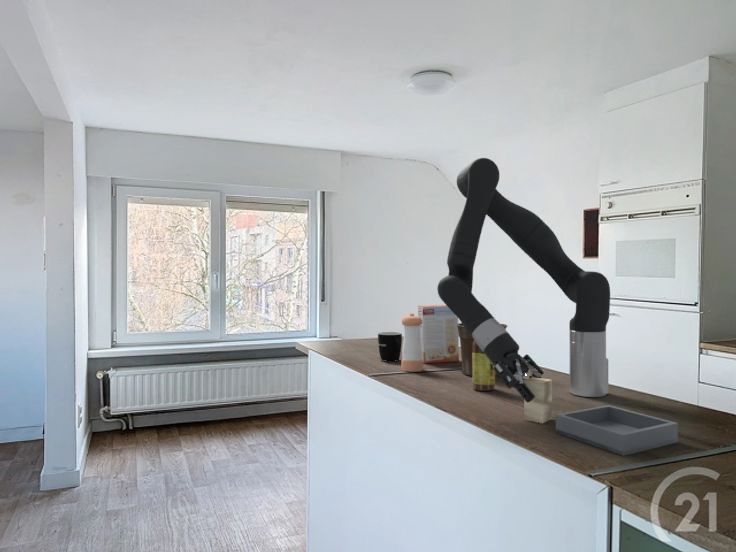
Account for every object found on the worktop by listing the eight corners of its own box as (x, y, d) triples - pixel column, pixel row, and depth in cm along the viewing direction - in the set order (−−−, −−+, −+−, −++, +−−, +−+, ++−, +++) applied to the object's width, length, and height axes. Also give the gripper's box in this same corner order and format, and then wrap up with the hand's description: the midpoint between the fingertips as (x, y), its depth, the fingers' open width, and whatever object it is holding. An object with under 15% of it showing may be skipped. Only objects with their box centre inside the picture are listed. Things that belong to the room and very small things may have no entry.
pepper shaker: (422, 372, 179) (421, 314, 179) (400, 371, 181) (400, 314, 180) (423, 368, 187) (423, 312, 186) (402, 367, 188) (402, 312, 187)
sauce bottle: (495, 392, 150) (495, 320, 149) (472, 391, 151) (472, 320, 150) (494, 387, 156) (494, 318, 156) (472, 386, 157) (472, 318, 157)
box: (608, 422, 120) (608, 405, 120) (677, 442, 106) (677, 423, 106) (555, 432, 113) (555, 414, 113) (623, 456, 99) (623, 435, 98)
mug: (374, 359, 205) (373, 332, 205) (394, 357, 209) (394, 331, 209) (388, 364, 194) (388, 336, 194) (410, 362, 198) (410, 334, 198)
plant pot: (475, 367, 187) (474, 320, 187) (517, 373, 176) (516, 324, 176) (446, 374, 176) (446, 324, 176) (489, 381, 164) (489, 328, 164)
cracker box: (452, 359, 204) (452, 303, 204) (459, 361, 198) (459, 305, 198) (417, 361, 200) (417, 304, 200) (423, 363, 195) (423, 305, 194)
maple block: (533, 415, 126) (533, 377, 126) (551, 419, 123) (551, 379, 123) (524, 419, 122) (524, 380, 122) (543, 423, 119) (543, 383, 119)
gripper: (489, 334, 123) (537, 392, 115) (519, 328, 133) (564, 381, 125) (469, 355, 126) (514, 412, 119) (499, 348, 137) (543, 400, 129)
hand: (540, 396), depth 122 cm, fingers open, 8 cm apart
